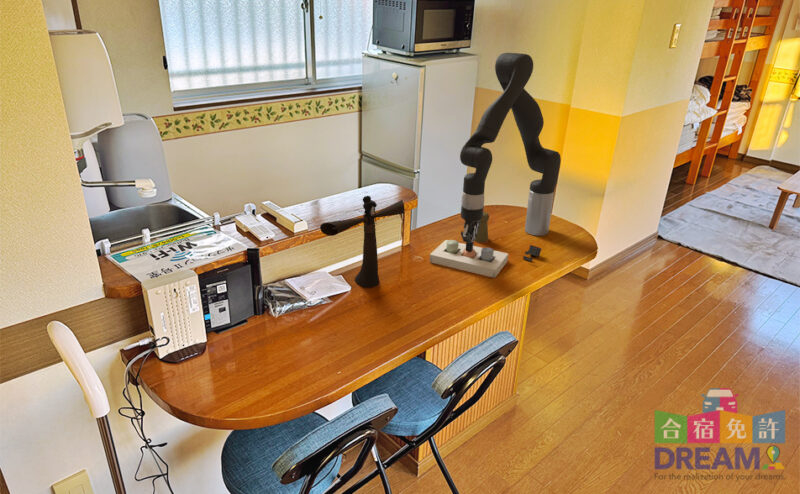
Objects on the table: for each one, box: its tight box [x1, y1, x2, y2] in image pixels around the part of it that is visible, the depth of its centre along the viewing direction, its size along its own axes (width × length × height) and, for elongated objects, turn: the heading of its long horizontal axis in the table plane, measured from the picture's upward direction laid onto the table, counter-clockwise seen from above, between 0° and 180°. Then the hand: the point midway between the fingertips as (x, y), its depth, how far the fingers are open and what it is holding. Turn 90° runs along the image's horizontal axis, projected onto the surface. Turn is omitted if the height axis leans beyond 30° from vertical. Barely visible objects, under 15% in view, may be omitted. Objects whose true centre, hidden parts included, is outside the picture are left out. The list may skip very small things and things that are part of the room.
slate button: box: [480, 247, 495, 262], centre depth 189 cm, size 4×4×4 cm
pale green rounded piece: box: [445, 239, 459, 254], centre depth 194 cm, size 4×4×4 cm
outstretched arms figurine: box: [319, 195, 406, 288], centre depth 173 cm, size 31×10×30 cm, turn 130°
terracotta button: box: [462, 249, 476, 258], centre depth 192 cm, size 4×4×4 cm
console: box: [429, 239, 509, 279], centre depth 193 cm, size 14×24×3 cm, turn 62°
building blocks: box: [522, 244, 542, 262], centre depth 195 cm, size 3×6×8 cm
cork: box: [474, 211, 490, 243], centre depth 208 cm, size 6×6×11 cm
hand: (469, 250), depth 191 cm, fingers closed
